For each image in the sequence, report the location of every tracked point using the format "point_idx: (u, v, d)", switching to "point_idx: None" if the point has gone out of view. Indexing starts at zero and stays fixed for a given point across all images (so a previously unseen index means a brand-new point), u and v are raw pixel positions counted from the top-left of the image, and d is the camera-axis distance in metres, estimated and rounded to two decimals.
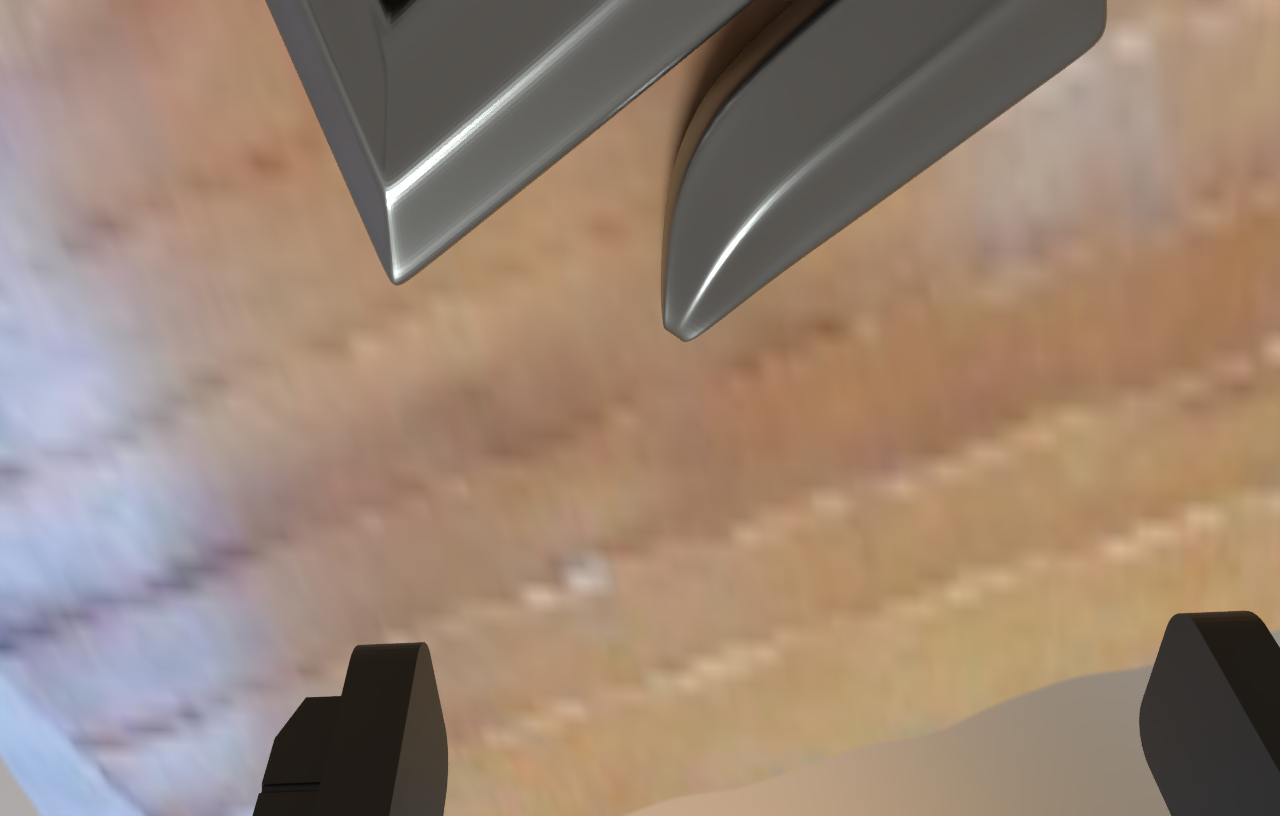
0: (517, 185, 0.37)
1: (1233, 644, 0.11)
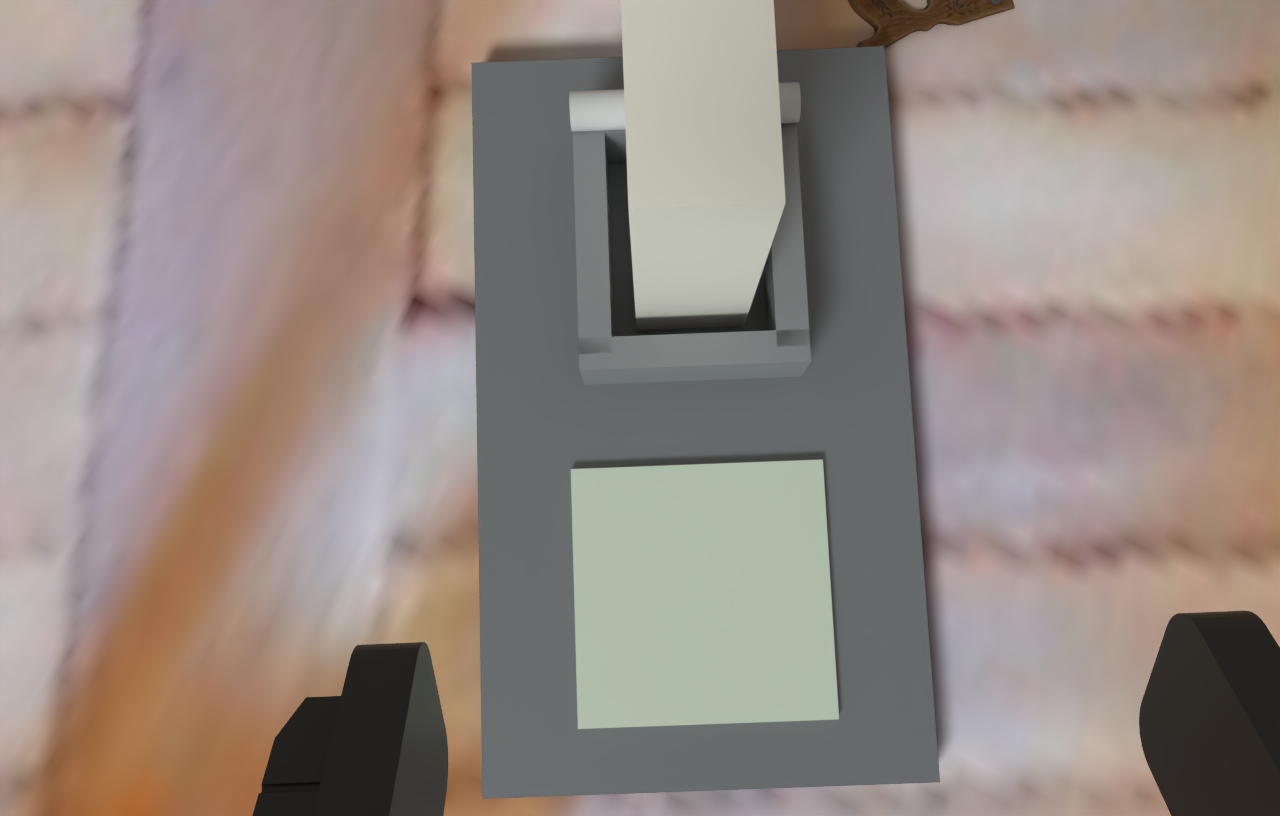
0: None
1: (1233, 644, 0.11)
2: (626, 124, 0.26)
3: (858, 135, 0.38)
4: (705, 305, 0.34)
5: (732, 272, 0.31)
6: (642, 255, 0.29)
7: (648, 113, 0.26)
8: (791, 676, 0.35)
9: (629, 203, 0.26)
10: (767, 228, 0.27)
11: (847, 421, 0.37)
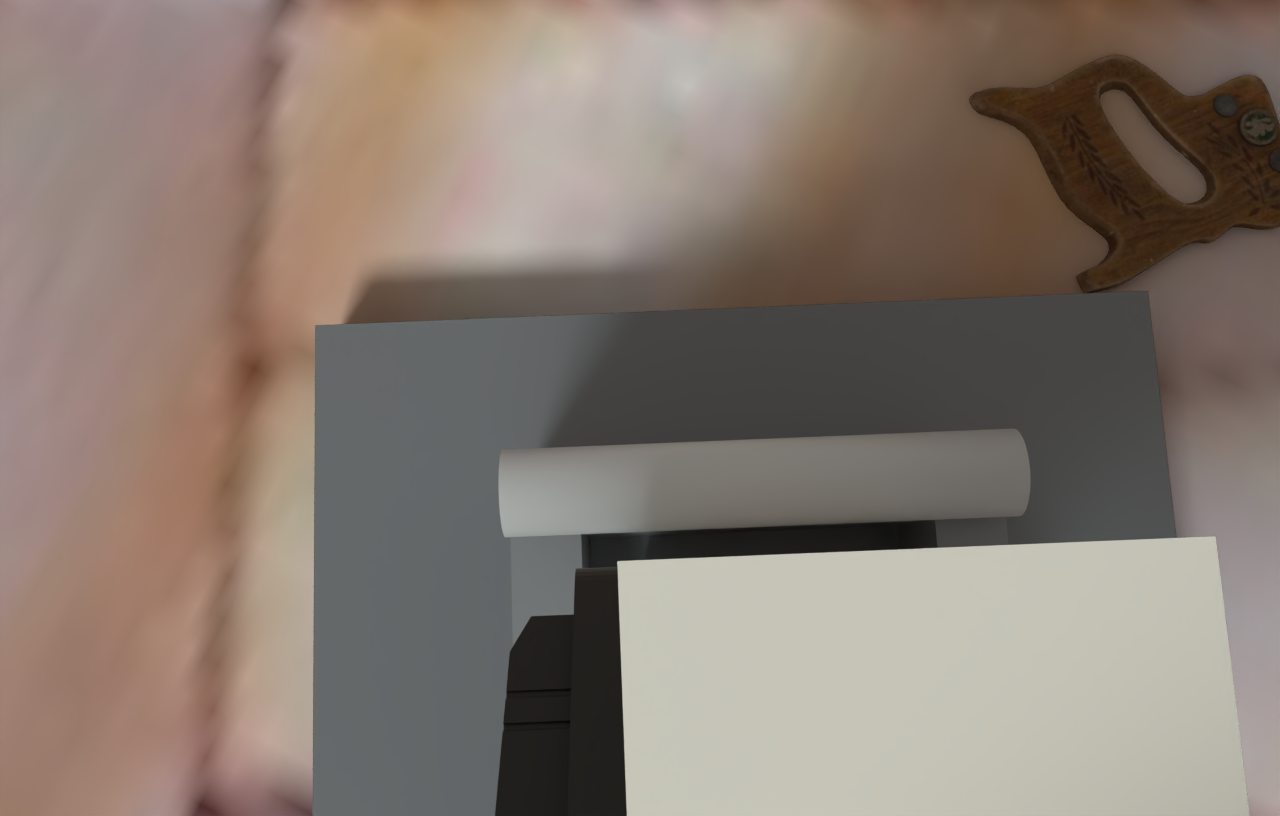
0: None
1: None
2: None
3: (1102, 478, 0.19)
4: None
5: None
6: None
7: None
8: None
9: None
10: None
11: None
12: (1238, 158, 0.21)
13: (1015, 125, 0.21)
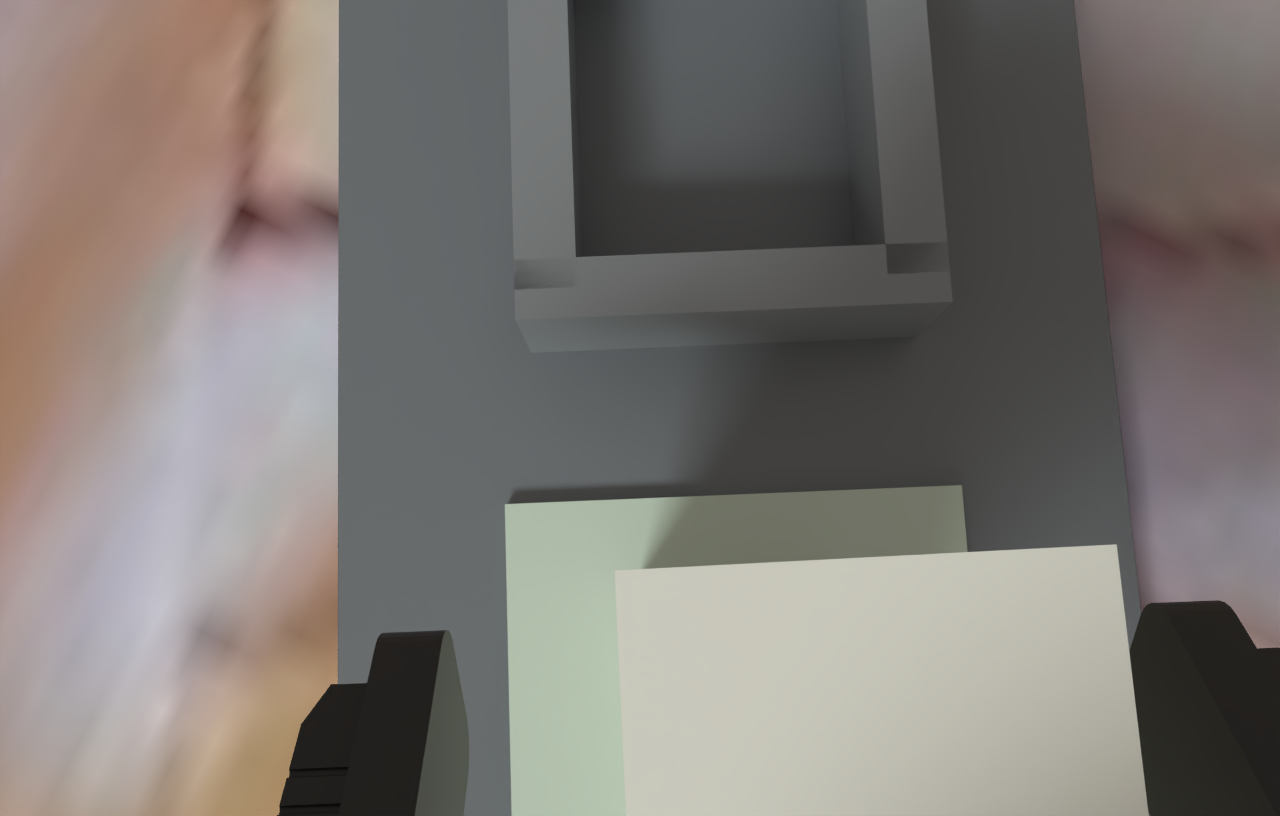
0: None
1: (1203, 632, 0.11)
2: None
3: None
4: None
5: None
6: None
7: None
8: None
9: None
10: None
11: (1002, 416, 0.21)
12: None
13: None
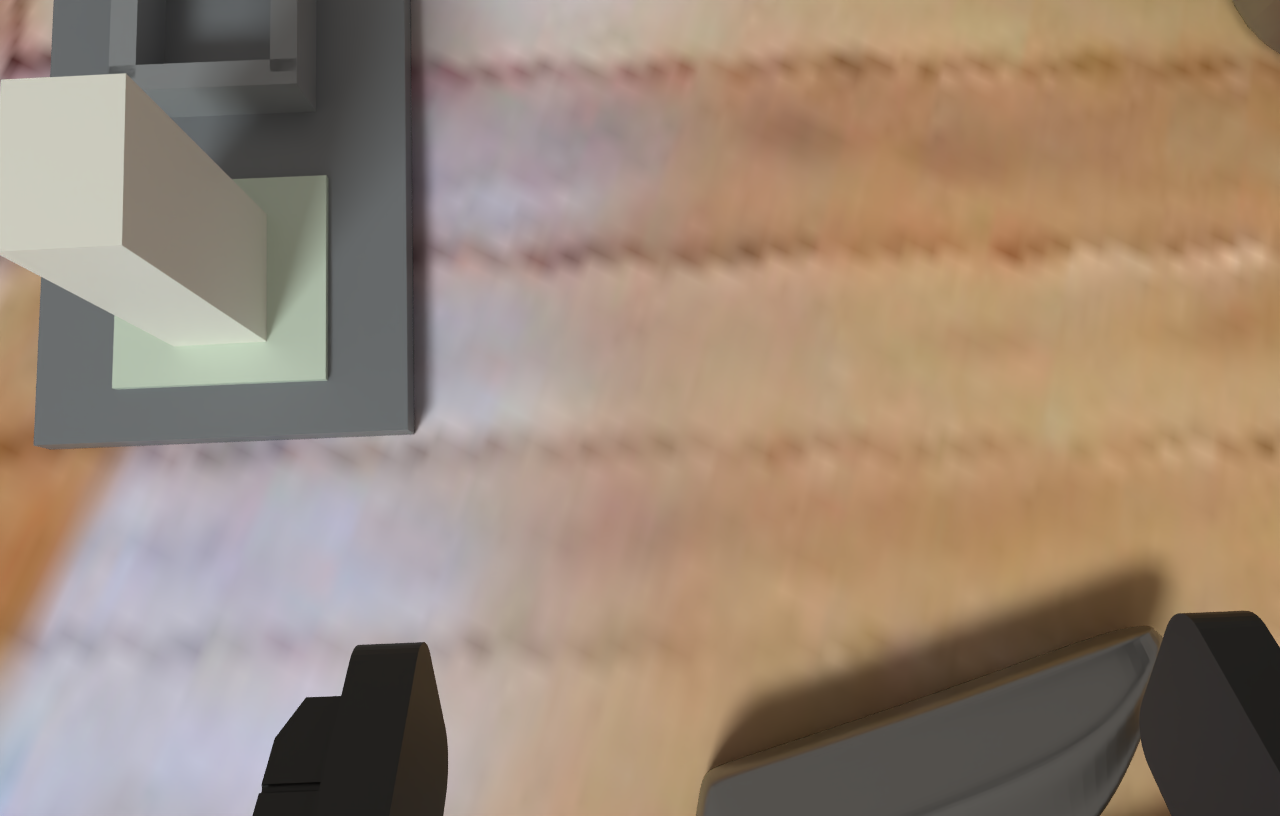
0: None
1: (1233, 644, 0.11)
2: None
3: None
4: (199, 325, 0.40)
5: (174, 298, 0.37)
6: (69, 286, 0.35)
7: (16, 173, 0.32)
8: (289, 345, 0.43)
9: None
10: (142, 264, 0.33)
11: (351, 146, 0.45)
12: None
13: None
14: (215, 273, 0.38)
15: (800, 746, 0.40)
